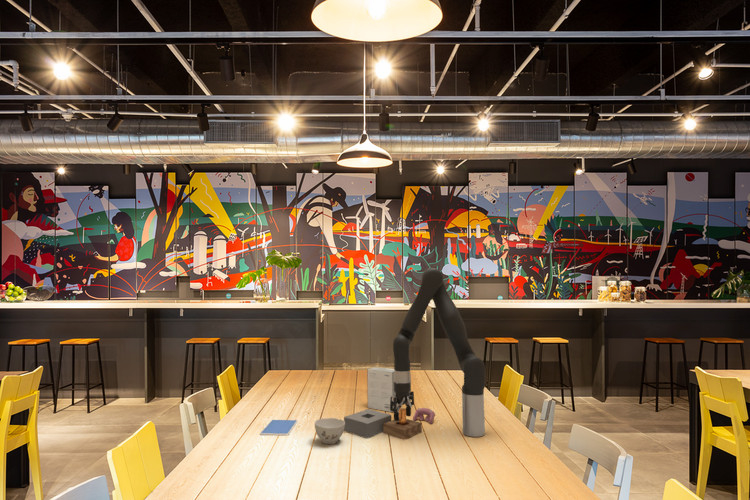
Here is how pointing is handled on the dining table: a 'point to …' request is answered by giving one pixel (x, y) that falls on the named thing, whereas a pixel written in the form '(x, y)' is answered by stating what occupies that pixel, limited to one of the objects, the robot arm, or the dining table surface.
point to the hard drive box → (380, 388)
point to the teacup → (329, 429)
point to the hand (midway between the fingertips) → (402, 418)
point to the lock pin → (402, 416)
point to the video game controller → (424, 411)
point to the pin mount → (402, 429)
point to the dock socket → (366, 423)
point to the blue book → (279, 427)
